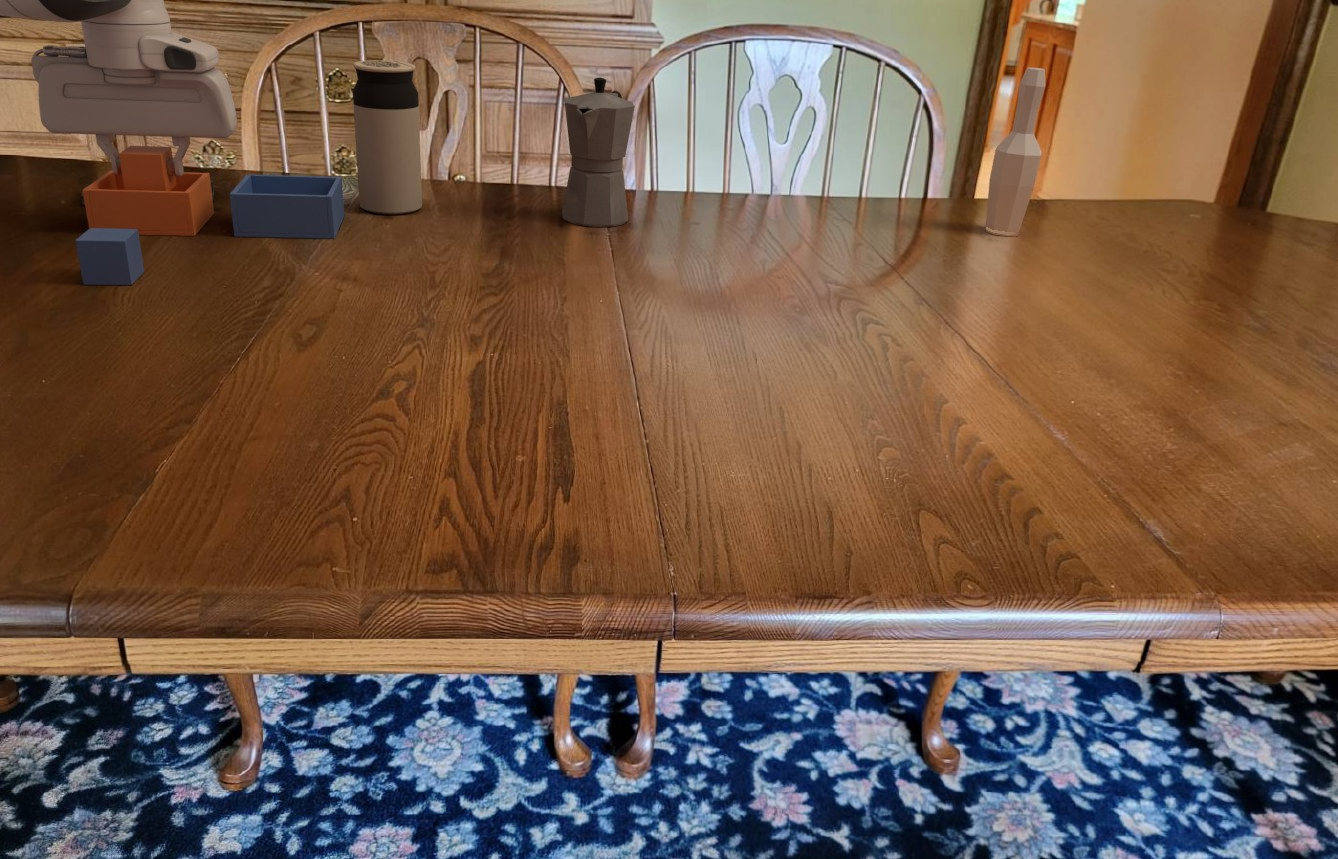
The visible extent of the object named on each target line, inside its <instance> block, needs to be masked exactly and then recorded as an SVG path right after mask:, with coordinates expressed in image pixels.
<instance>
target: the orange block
mask: <svg viewBox="0 0 1338 859" xmlns="http://www.w3.org/2000/svg"><path fill="white" fill-rule="evenodd" d="M172 150H173V149H172V146H161V145H160V146H159V145H158V146H156V145H129V146H128V147H126V148H125V149H124V150H121V152H119V158H120V164H121V170H122V176H123V182H124V189H125V190H146V191H170V190H171V189H172V188H174V187H175V186H176V177H175V176H168V174H167V168H166V160H168V159H169V158H174V156H173V151H172Z"/></svg>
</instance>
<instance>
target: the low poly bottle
mask: <svg viewBox="0 0 1338 859" xmlns="http://www.w3.org/2000/svg"><path fill="white" fill-rule="evenodd" d="M1045 88H1046V71H1045V68H1040V67H1027V68H1026V70H1025V72H1024V74H1023V76H1022V78H1021V79H1020V81H1019V86H1018V95H1017V104H1016V110H1015V114H1014V121H1013V125H1012V130H1010V131H1011V132H1009V133H1008V135H1006V136H1005V137H1004V139H1002V141H1001V142H1000V143H999V144H998V145H997V146H996V147H995V150H994V151H995V152H994V156H993V161H992V166H991V170H990V176H989V182H988V194H987V195H988V196H987V206H986V220H985V228H986V227H988V228H990V229H992V230H998V231H1005V232H1019V233H1020V230H1021V227H1022V224H1023V220H1024V218H1025V215H1026V212H1027V210H1028V206H1029V203H1030V201H1031V197H1032V194H1033V191H1034V188H1035V185H1036V183H1037V177H1038V173H1039V169H1040V164H1041V158H1042V154H1043V151H1042V150H1041V147H1040V145H1039V142H1038V140H1037V138H1036V136H1035V133H1034V132H1035V127H1036V122H1037V118H1038V114H1039V113H1038V112H1039V108H1040V106H1041V101H1042V98H1043V95H1044V92H1045ZM985 232H987V233H989V234H991V235H995V236H1002V237H1019V234H1018V235H1002V234H995V233H992V232H990V231H988V230H986V229H985Z"/></svg>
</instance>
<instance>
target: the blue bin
mask: <svg viewBox="0 0 1338 859" xmlns="http://www.w3.org/2000/svg"><path fill="white" fill-rule="evenodd" d="M229 201H230V202H229V203H230V210H231V218H232V220H231V221H232V227H233V228H232V229H233V237H234V238H236V237H237V238H276V239H277V238H280V239H281V238H282V239H283V238H284V239H332V240H334V239H336V237H337V234H338V232H339V229H340V227H341V225H342V223H343V220H344V218H345V208H344V207H345V206H344V190H343V177H342V176H322V175H321V176H320V175H286V174H285V175H284V174H279V175H278V174H255V173H254V174H253V173H252V174H251V173H246V174H245V175H244V177H243V178H242V179H241V180H240V181H239V182H238V184H237V185H236V186H235V187H233V189H232V190H231V192H230V193H229Z"/></svg>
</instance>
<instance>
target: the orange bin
mask: <svg viewBox="0 0 1338 859" xmlns="http://www.w3.org/2000/svg"><path fill="white" fill-rule="evenodd" d="M175 177H176V186H175V187H174V188H172V189H171V190H170V191H146V190H125V189H124V182H123V176H122V175H120V174H119V175H117V174H113V171H112V169H110V170H109V171H107V172H106V173H105V174H103V175H101V176H100V177H99V178H97V179H96V180H95V181H93V182H91V183H92V184H90V185H89V186H88V187H86V188H85V189H84V188H83V189H82V191H83V197H84V202H85V205H84V209H85V212H86V213H85V214H86V220H87V224H88V230H89V229H90V228H109V229H138V233H139V236H178V237H181V236H182V237H195V236H196V235H197V234H198V233H199V232H200V231H201V229H202V228H204V226H205V225H206V224H207V223H208V221H209V220H210V219H211V218H212V217H213V215H215V210H214V209H215V208H214V202H213V199H212V191H211V183H210V181H211V174H210V173H209V172H185V171H184V174H183V175H182V176H175Z"/></svg>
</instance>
